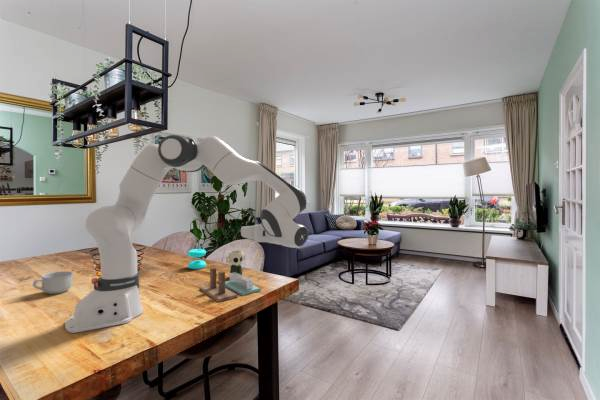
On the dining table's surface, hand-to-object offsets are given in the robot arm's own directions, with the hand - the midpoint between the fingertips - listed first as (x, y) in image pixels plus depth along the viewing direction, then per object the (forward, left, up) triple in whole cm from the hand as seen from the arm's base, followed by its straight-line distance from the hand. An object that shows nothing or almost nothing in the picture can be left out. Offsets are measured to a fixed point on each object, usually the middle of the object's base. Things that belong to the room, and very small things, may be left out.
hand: (255, 228), depth 123 cm
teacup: (-65, +61, -29) cm, 94 cm away
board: (0, +14, -28) cm, 31 cm away
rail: (0, +14, -27) cm, 30 cm away
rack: (-11, +14, -28) cm, 33 cm away
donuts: (-1, +63, -29) cm, 69 cm away
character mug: (+7, +31, -29) cm, 43 cm away
